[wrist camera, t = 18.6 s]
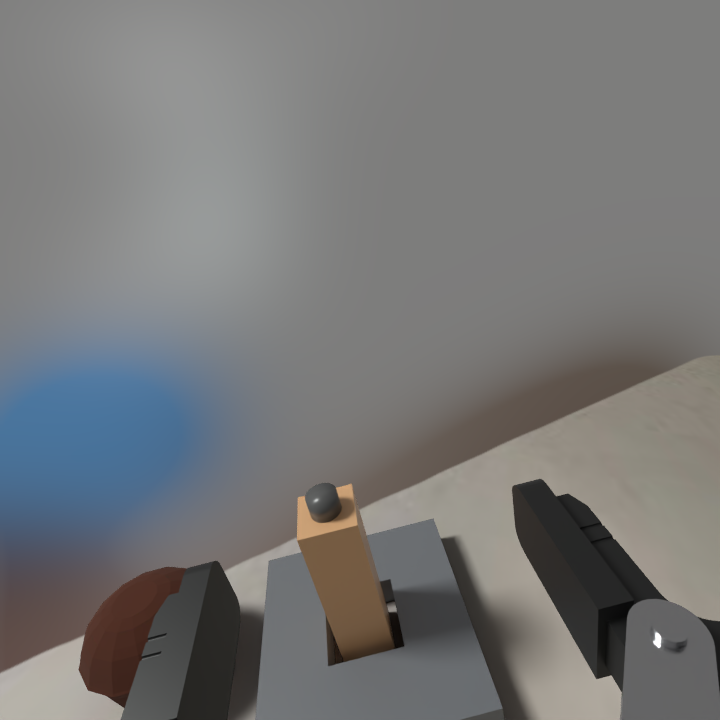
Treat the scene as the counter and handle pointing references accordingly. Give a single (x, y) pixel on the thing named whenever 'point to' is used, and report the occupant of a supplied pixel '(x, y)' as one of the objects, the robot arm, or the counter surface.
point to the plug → (344, 570)
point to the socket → (383, 670)
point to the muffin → (124, 632)
